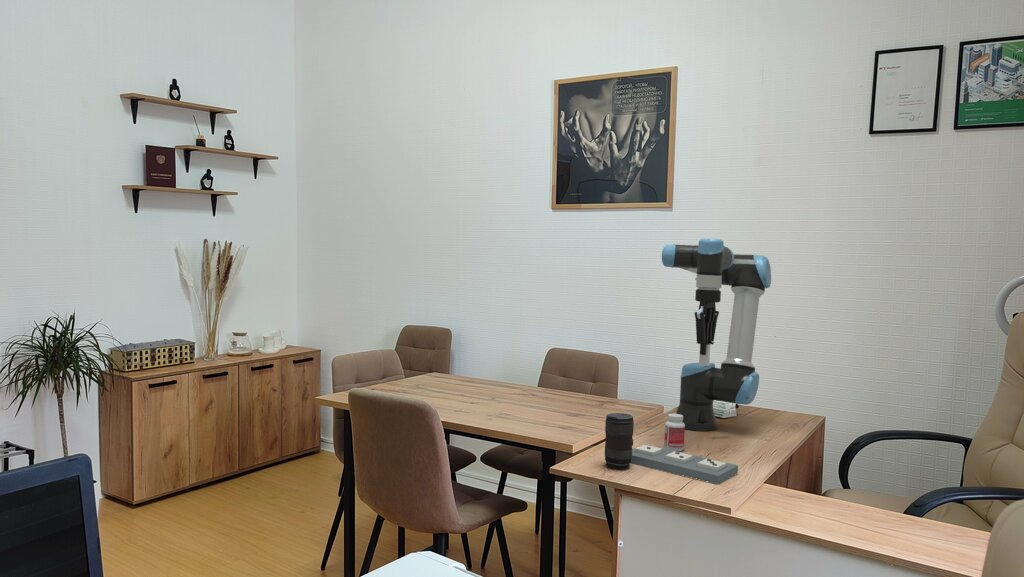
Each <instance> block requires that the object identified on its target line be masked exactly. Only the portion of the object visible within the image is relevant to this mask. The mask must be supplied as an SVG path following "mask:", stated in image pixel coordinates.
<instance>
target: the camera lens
mask: <svg viewBox="0 0 1024 577" xmlns="http://www.w3.org/2000/svg"><path fill="white" fill-rule="evenodd" d="M605 416H606V419H605V424H604V425H605V426H604V427H605V428H604V432H605V443H604V461H605V466H606V467H607V468H609V469H611V470H616V471H618V470H619V471H626V470H628V469H629V468H630V464H632V463H631V458H632V449H633V446H634V439H633V436H634V429H635V428H634V426H635V425H634V424H635V423H634V422H635V421H634V416H633V415H632V414H628V413H624V412H622V413H621V412H612V413H607V414H606V415H605Z"/></svg>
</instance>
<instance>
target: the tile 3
mask: <svg viewBox="0 0 1024 577" xmlns="http://www.w3.org/2000/svg"><path fill="white" fill-rule="evenodd" d="M711 459H712V458H708V459H704V460H702V461H700V462H698V463H697V467H701V468H705V469H709V470H713V471H720V470H722V469H724V468H726V463H727V462H726V463H724V462H725V461H721V462H719V461H720V460H717V461H715V460H716V459H712V460H711Z"/></svg>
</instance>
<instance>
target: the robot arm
mask: <svg viewBox="0 0 1024 577" xmlns="http://www.w3.org/2000/svg"><path fill="white" fill-rule="evenodd" d="M663 246H664V247H663V249H662V251H661V262H662V266H664V267H665V268H672V269H673V268H675V269H676V268H678V269H683V270H684V271H687V272H691V273H694V274H696V277H695V278H694V279H695V280H696V282H695V287H696V288H697V289H696V290H695V298H694V300H695V301H696V302H699V305H698V311H695V312H694V318H695V330H696V332H695V333H696V344H698V345H699V354H698V355H699V356H698V357H699V358H698V362H692V363H691V362H690V363H686V364H684V365H682V367H681V375H680V388H679V390H680V392H679V403H678V404H679V405H678V406H677V408H676V412H675V414H680V415H683V420H682V422H683V423H684V424H685V430H690V431H697V432H698V431H699V432H706V431H707V432H709V431H713V430H716V429H717V418H716V416H715V410H714V407H713V402H714V401H717V402H721V403H722V402H723V403H730V404H736V405H747V406H748V405H750V404H751V403H752V402H754V400H755V399H756V398H755V397H756V396H757V393H758V389H759V384H760V375H759V373H758V372H756V367H755V365H754V364H753V363H752V359H753V351H754V343H755V336H756V328H757V318H758V310H759V304H760V303H759V302H760V298H761V297H762V296H763V295H764V294H765V290H766V289H768V288H769V289H770V287H771V286H772V285H771V284H772V270H771V263H770V261H769V259H768V257H767V256H765V255H759V254H758V255H757V254H741V253H740V254H737V253H736V254H734V251H733V250H732V249H731V248H729V247H728V246H725V245H724V240H723V239H721V238H700V239H699V240H698V245H697V244H696V245H693V244H675V243H674V244H673V243H672V244H666V245H663ZM695 280H694V281H695ZM722 286H731V287H730V290H731V291H732V293H733V294H734V297H733V304H732V313H731V320H730V326H729V327H730V328H729V337H728V343H727V344H728V345H727V352H726V359H724V360H723V361H722V362H721V364H720V367H719V368H718V367H716V365H715V363H713V362H710V359H711V358H710V357H711V345H714V341H715V336H716V330H717V323H718V317H719V314H720V311H719V310H716V307H717V306H716V303H720V302H721V297H722V291H721V290H720V289H721V288H722Z"/></svg>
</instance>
